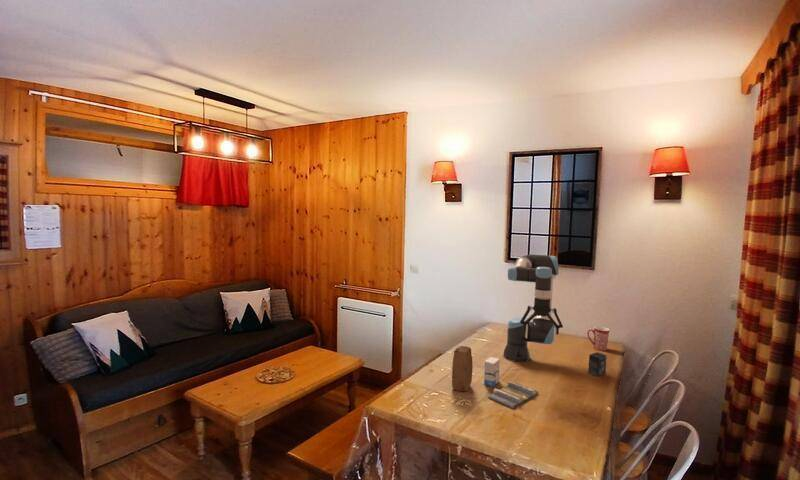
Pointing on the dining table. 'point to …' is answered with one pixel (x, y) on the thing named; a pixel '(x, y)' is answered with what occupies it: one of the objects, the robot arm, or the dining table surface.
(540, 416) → the dining table surface
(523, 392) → the rail board
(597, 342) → the mug
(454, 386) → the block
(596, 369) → the box
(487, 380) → the ink box
